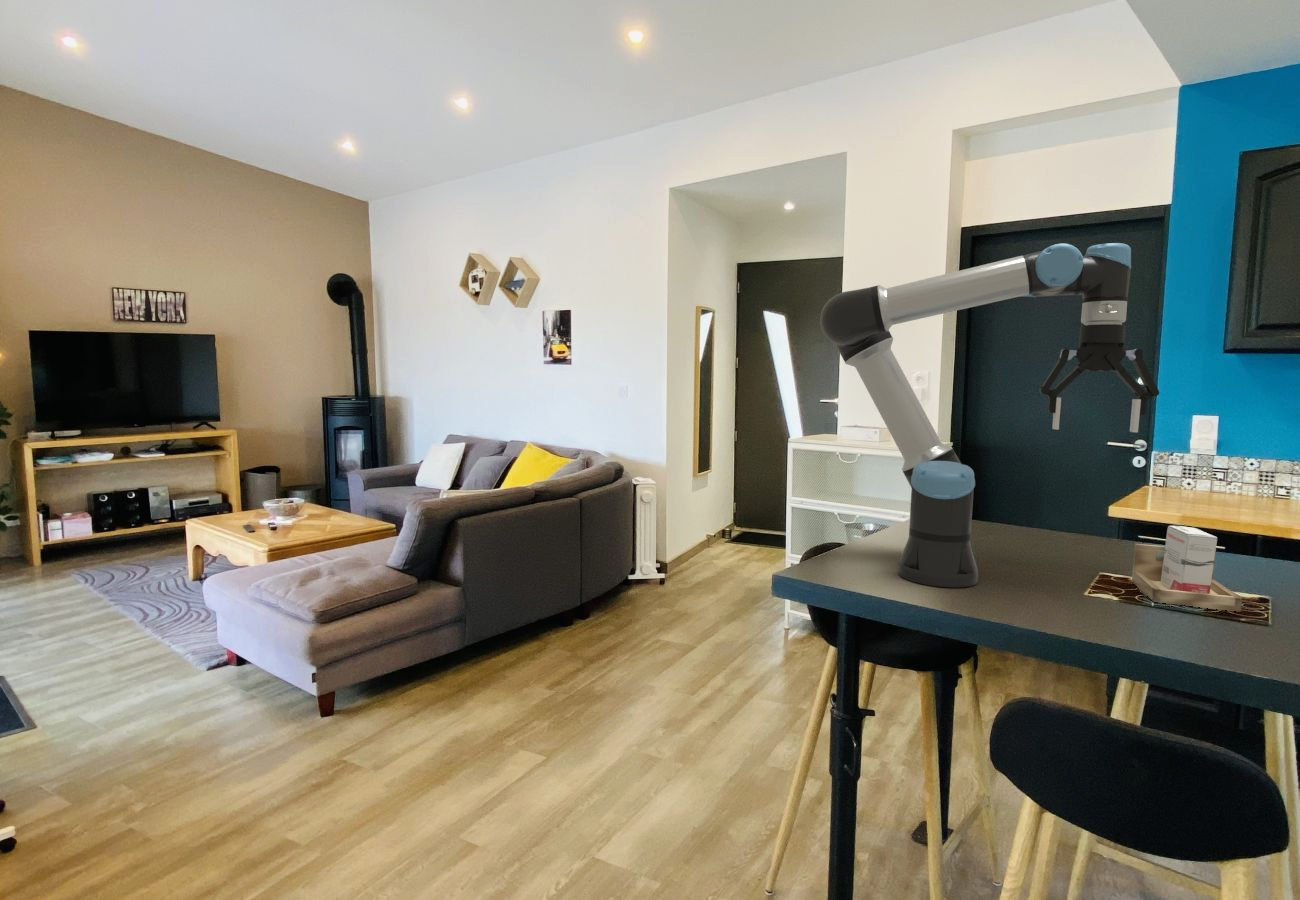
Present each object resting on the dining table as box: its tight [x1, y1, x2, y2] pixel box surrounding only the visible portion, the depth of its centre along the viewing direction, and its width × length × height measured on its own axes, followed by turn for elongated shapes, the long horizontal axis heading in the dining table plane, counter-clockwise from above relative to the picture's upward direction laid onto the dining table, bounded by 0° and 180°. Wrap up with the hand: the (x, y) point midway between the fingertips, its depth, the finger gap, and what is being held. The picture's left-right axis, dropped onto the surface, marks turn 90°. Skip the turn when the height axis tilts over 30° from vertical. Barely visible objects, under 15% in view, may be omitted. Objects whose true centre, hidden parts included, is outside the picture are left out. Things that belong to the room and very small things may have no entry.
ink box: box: [1161, 525, 1218, 594], centre depth 129 cm, size 9×5×12 cm, turn 164°
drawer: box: [1131, 543, 1243, 613], centre depth 130 cm, size 13×14×8 cm
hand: (1093, 430), depth 138 cm, fingers open, 13 cm apart
